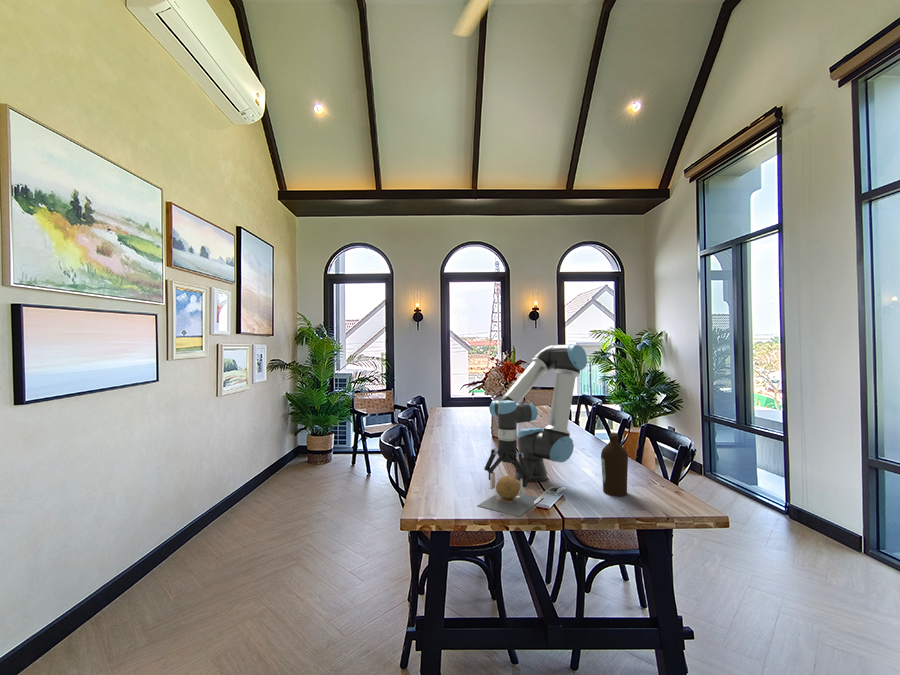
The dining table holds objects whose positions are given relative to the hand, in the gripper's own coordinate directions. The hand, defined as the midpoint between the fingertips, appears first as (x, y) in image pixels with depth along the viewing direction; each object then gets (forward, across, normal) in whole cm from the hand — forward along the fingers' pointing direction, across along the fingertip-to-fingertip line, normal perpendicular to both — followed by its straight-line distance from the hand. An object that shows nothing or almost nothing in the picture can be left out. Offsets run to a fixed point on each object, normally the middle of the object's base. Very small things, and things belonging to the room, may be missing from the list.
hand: (507, 491), depth 166 cm
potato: (+3, 0, 0) cm, 3 cm away
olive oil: (+3, +34, +32) cm, 47 cm away
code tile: (+3, +3, -3) cm, 5 cm away
